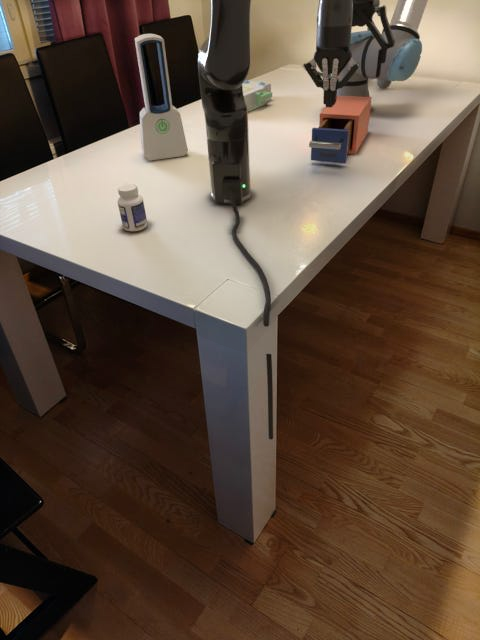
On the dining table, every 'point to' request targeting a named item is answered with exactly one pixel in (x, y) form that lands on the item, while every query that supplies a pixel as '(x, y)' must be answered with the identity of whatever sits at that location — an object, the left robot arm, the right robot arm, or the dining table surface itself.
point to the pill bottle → (131, 208)
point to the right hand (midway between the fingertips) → (353, 75)
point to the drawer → (332, 140)
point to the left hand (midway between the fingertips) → (329, 106)
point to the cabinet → (351, 116)
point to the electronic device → (159, 110)
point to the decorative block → (256, 94)
